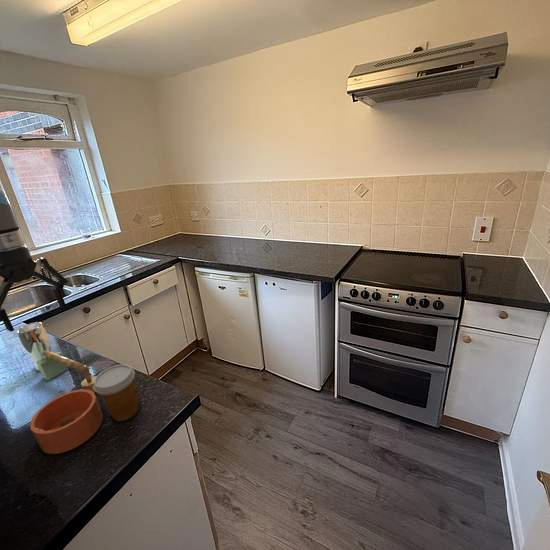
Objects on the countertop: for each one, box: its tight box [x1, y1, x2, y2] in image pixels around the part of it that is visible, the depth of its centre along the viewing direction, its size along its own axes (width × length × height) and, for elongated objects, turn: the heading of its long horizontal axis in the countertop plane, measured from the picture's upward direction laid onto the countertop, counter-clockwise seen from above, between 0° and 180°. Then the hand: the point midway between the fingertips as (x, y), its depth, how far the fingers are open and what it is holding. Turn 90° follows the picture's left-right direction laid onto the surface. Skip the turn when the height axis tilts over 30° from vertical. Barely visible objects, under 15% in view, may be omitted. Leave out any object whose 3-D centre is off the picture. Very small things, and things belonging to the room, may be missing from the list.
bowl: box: [29, 388, 104, 455], centre depth 74 cm, size 14×14×6 cm
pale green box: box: [36, 350, 69, 382], centre depth 96 cm, size 3×6×6 cm, turn 151°
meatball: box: [60, 417, 74, 427], centre depth 75 cm, size 3×3×3 cm
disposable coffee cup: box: [93, 364, 140, 422], centre depth 77 cm, size 10×10×12 cm
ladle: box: [42, 350, 98, 393], centre depth 92 cm, size 24×4×8 cm, turn 63°
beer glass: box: [16, 321, 52, 371], centre depth 100 cm, size 7×7×15 cm
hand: (38, 318), depth 87 cm, fingers open, 13 cm apart
